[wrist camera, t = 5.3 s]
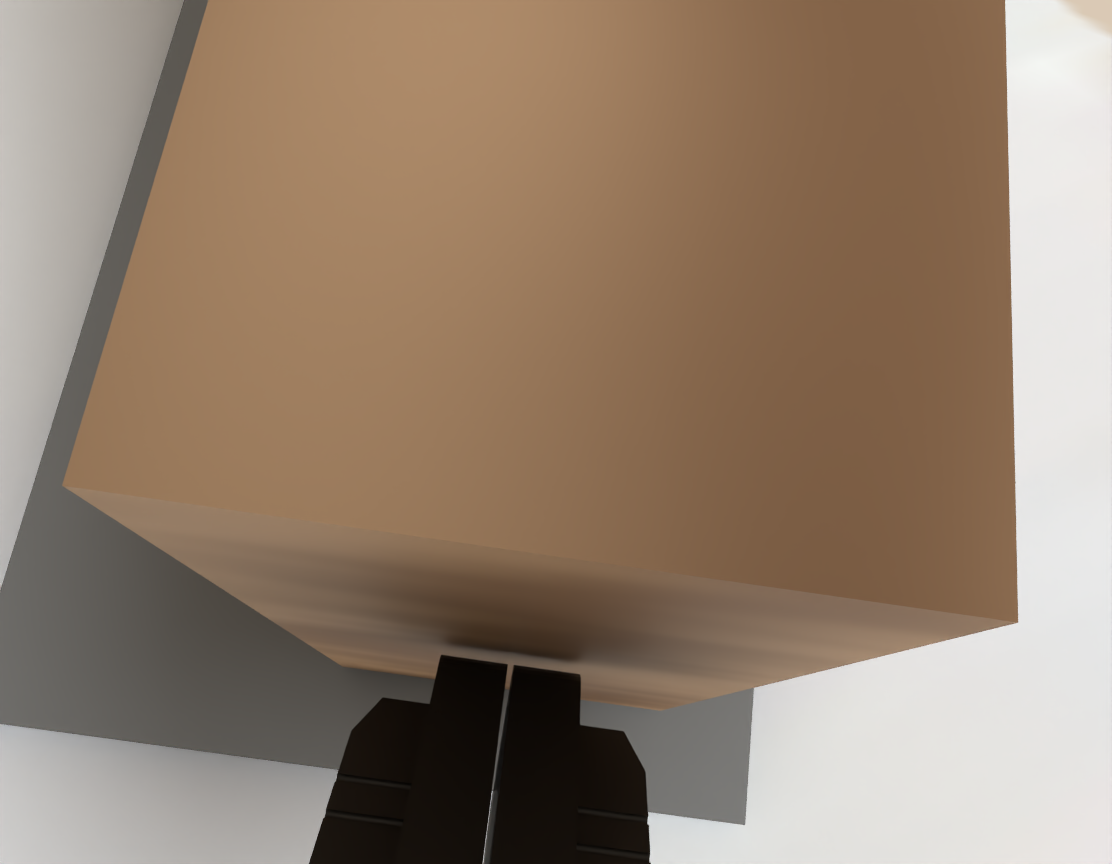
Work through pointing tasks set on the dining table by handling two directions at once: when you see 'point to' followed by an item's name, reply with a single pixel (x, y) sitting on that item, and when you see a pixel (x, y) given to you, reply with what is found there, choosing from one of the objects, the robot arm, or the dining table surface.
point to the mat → (237, 610)
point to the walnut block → (578, 335)
